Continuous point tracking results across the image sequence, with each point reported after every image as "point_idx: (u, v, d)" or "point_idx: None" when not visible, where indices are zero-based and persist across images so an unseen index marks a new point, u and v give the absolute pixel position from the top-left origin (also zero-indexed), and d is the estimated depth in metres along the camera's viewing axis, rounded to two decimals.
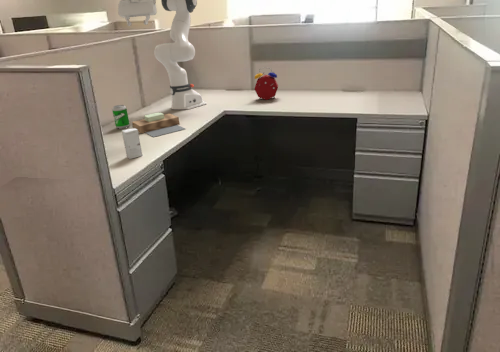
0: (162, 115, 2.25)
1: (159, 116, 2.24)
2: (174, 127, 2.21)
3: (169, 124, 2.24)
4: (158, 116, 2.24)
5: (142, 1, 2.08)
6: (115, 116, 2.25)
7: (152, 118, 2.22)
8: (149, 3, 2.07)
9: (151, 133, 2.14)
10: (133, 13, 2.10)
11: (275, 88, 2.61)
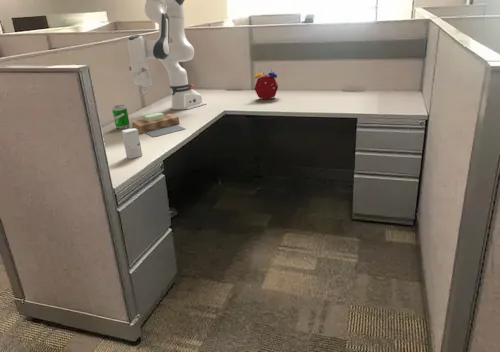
0: (162, 115, 2.25)
1: (159, 116, 2.24)
2: (174, 127, 2.21)
3: (169, 124, 2.24)
4: (158, 116, 2.24)
5: (140, 74, 2.19)
6: (115, 116, 2.25)
7: (152, 118, 2.22)
8: (143, 78, 2.17)
9: (151, 133, 2.14)
10: (138, 83, 2.25)
11: (275, 88, 2.61)
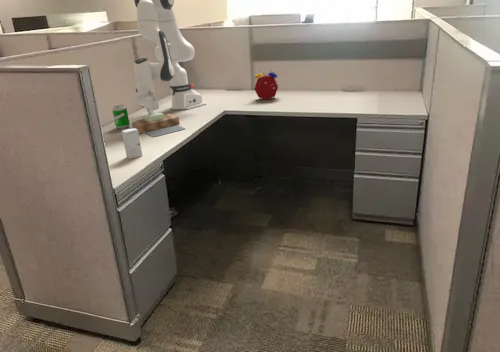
0: (162, 115, 2.25)
1: (159, 116, 2.24)
2: (174, 127, 2.21)
3: (169, 124, 2.24)
4: (158, 116, 2.24)
5: (146, 97, 2.21)
6: (115, 116, 2.25)
7: (152, 118, 2.22)
8: (150, 101, 2.18)
9: (151, 133, 2.14)
10: (145, 105, 2.27)
11: (275, 88, 2.61)
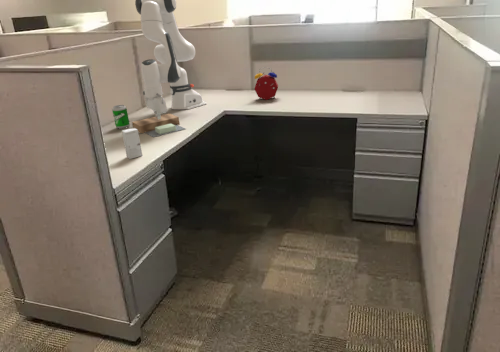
0: None
1: None
2: None
3: None
4: None
5: (154, 100, 2.12)
6: (115, 116, 2.25)
7: None
8: (158, 104, 2.10)
9: (151, 133, 2.14)
10: (152, 109, 2.18)
11: (275, 88, 2.61)
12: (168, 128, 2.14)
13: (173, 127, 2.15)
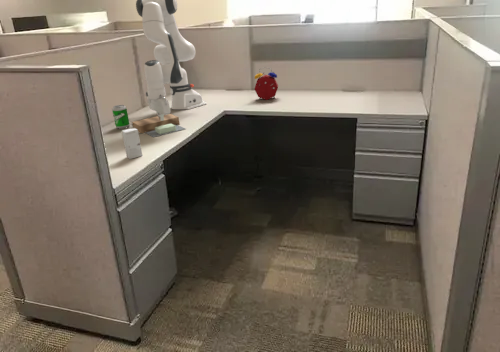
0: None
1: None
2: None
3: None
4: None
5: (157, 101, 2.10)
6: (115, 116, 2.25)
7: None
8: (161, 105, 2.07)
9: (151, 133, 2.14)
10: (155, 110, 2.16)
11: (275, 88, 2.61)
12: (168, 128, 2.14)
13: (173, 127, 2.15)
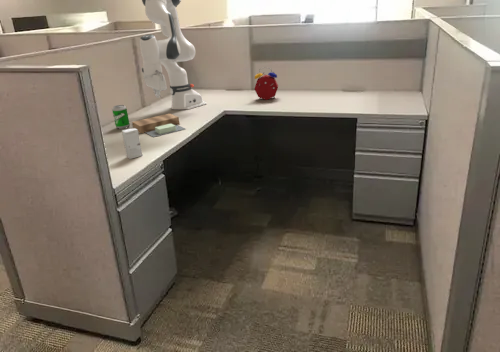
0: None
1: None
2: None
3: None
4: None
5: (153, 77, 2.05)
6: (115, 116, 2.25)
7: None
8: (157, 81, 2.02)
9: (151, 133, 2.14)
10: (151, 86, 2.11)
11: (275, 88, 2.61)
12: (168, 128, 2.14)
13: (173, 127, 2.15)
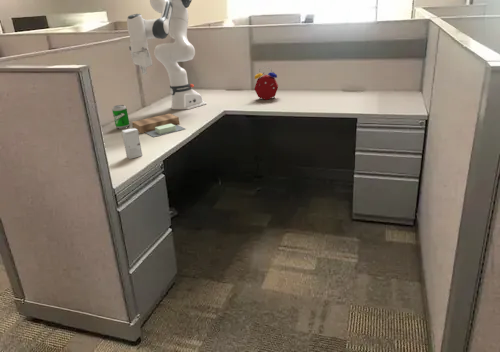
0: None
1: None
2: None
3: None
4: None
5: (140, 54, 2.17)
6: (115, 116, 2.25)
7: None
8: (143, 57, 2.14)
9: (151, 133, 2.14)
10: (138, 64, 2.23)
11: (275, 88, 2.61)
12: (168, 128, 2.14)
13: (173, 127, 2.15)
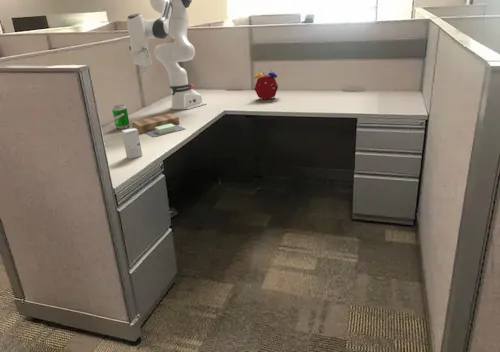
0: None
1: None
2: None
3: None
4: None
5: (140, 54, 2.17)
6: (115, 116, 2.25)
7: None
8: (143, 57, 2.14)
9: (151, 133, 2.14)
10: (138, 63, 2.23)
11: (275, 88, 2.61)
12: (168, 128, 2.14)
13: (173, 127, 2.15)
